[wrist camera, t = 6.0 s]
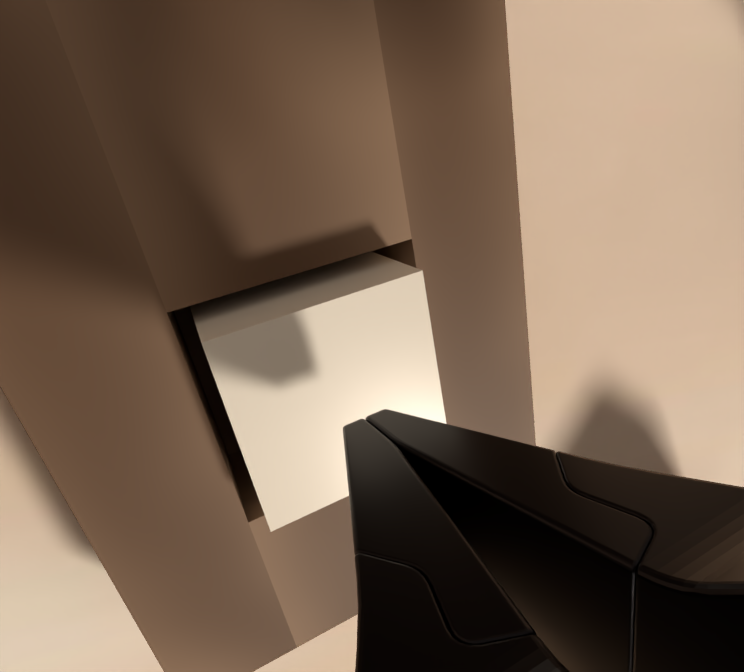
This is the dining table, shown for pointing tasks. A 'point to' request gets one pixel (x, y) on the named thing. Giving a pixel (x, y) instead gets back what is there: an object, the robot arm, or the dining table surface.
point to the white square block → (318, 371)
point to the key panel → (238, 267)
